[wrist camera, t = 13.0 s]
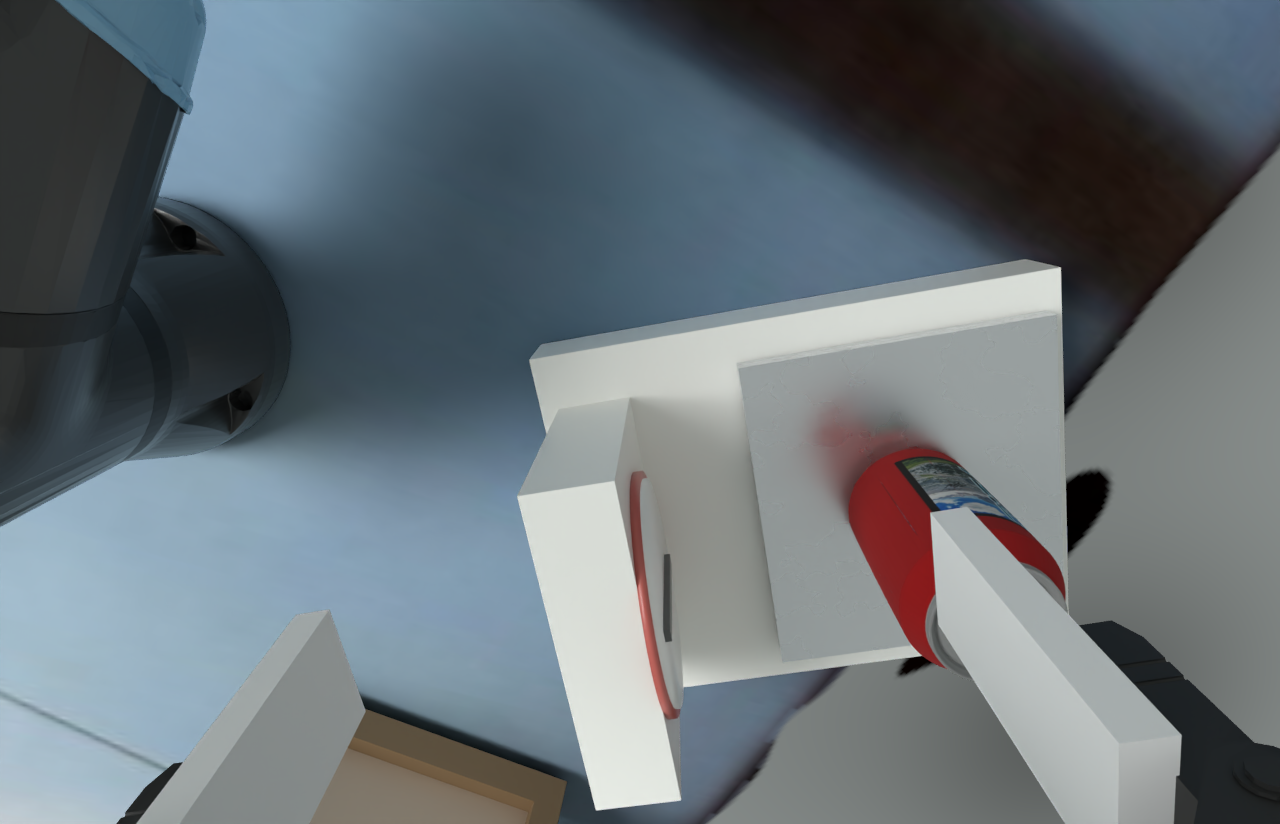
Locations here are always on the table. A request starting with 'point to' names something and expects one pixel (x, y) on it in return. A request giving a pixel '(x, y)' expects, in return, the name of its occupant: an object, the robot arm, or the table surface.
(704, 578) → the scale
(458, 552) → the table surface
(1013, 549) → the beverage can
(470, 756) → the photo frame
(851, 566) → the weighing pan
